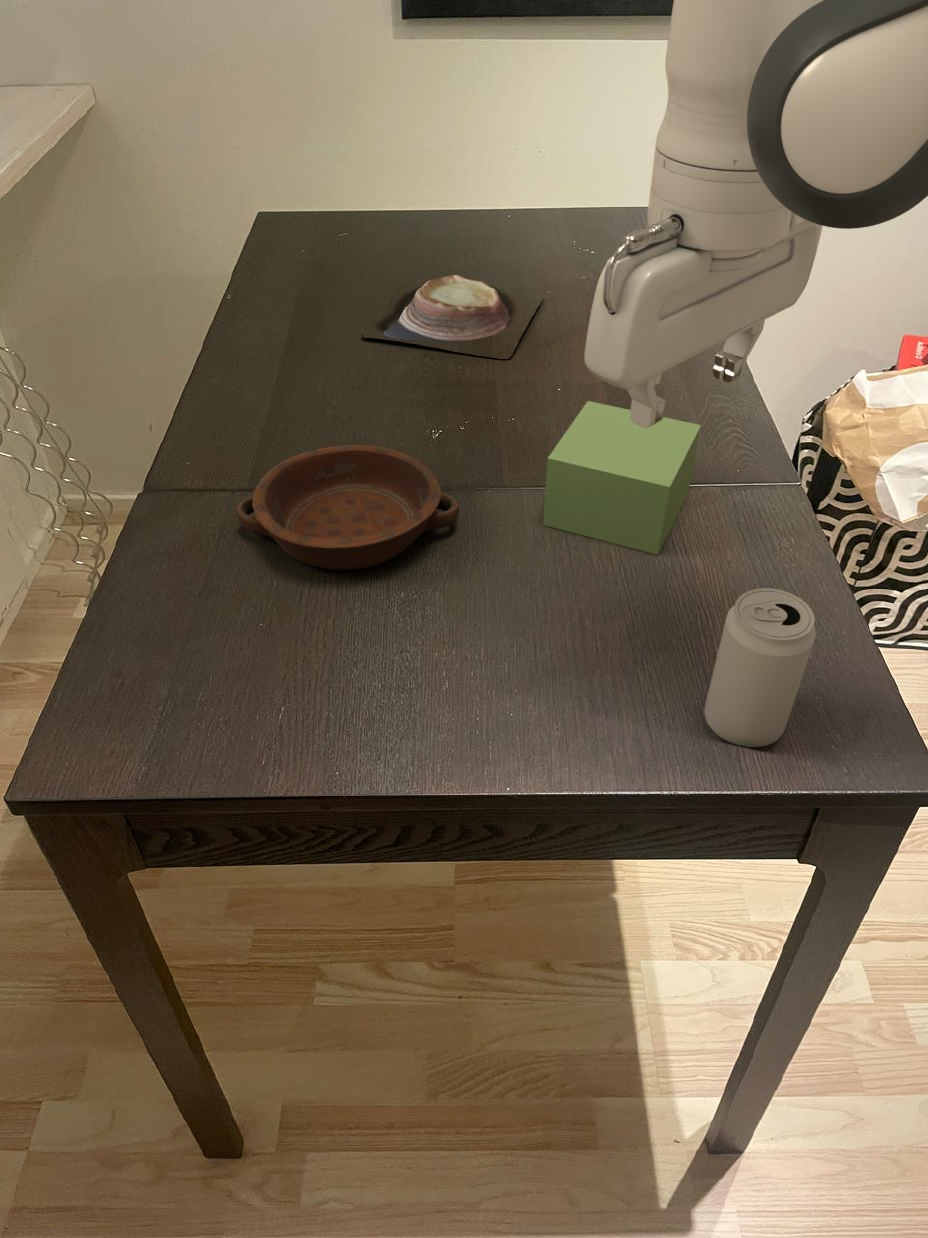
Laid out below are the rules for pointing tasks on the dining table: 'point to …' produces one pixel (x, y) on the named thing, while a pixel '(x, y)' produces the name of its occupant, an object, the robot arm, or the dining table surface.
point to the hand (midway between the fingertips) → (687, 398)
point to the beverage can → (759, 666)
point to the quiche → (451, 312)
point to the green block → (620, 477)
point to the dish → (347, 505)
